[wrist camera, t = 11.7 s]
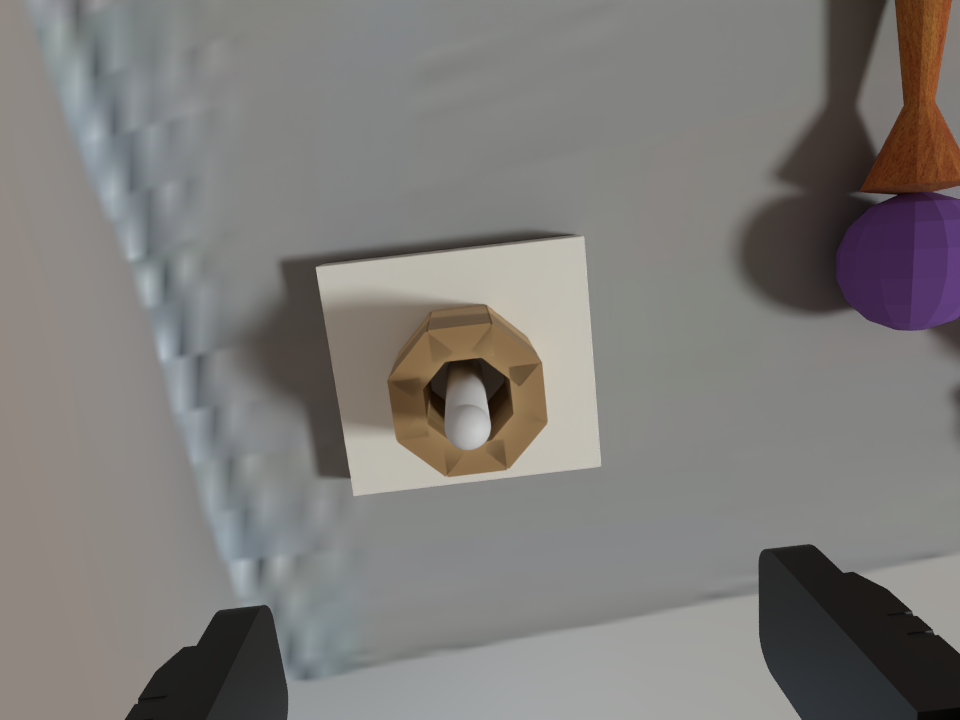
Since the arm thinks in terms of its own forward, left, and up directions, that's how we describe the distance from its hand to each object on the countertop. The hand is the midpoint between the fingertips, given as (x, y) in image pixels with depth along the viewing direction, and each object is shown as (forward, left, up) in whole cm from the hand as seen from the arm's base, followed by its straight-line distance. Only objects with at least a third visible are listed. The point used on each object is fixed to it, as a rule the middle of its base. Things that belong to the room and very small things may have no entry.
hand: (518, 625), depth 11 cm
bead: (+1, -1, -20) cm, 20 cm away
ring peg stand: (+1, -1, -22) cm, 22 cm away
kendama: (-9, +20, -23) cm, 32 cm away
